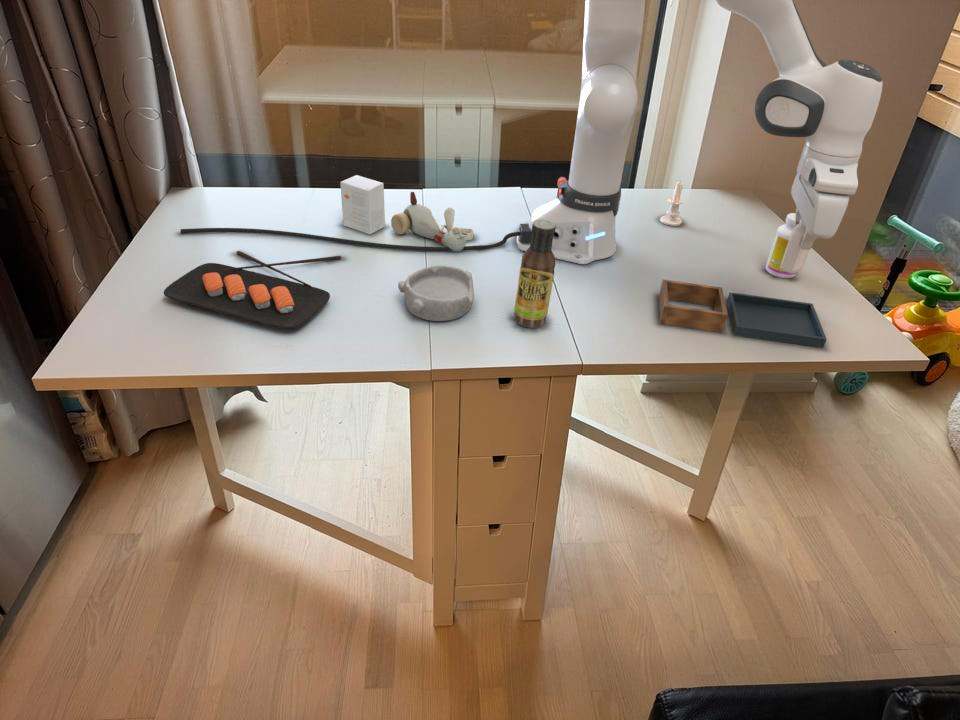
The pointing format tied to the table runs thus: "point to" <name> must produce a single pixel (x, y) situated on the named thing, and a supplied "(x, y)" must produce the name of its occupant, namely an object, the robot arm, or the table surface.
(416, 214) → the toy dog
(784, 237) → the supplement bottle
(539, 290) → the sauce bottle
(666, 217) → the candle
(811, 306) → the tray
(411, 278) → the dish
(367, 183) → the small box
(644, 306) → the table surface
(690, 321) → the crate
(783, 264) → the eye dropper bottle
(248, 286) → the sushi plate
